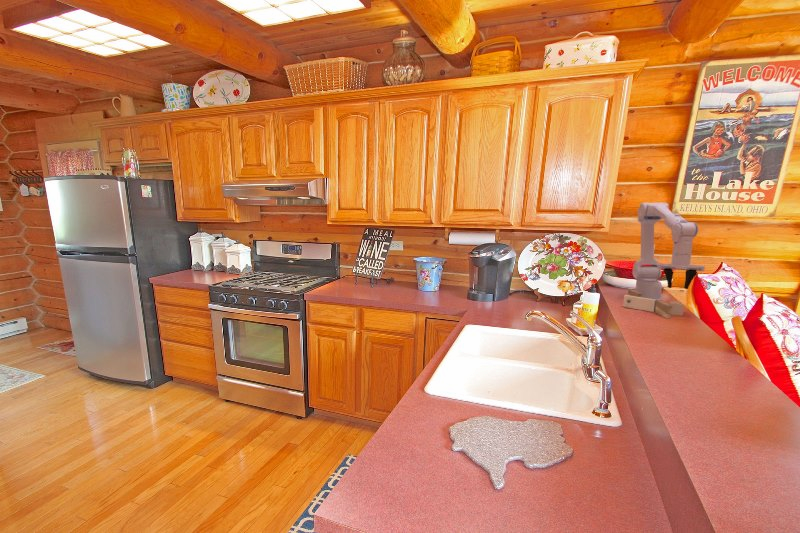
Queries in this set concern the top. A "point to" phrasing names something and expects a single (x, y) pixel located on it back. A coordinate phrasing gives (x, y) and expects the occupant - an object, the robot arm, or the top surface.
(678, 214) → the robot arm
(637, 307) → the door
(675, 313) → the doorstop block
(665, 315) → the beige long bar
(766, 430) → the top surface
